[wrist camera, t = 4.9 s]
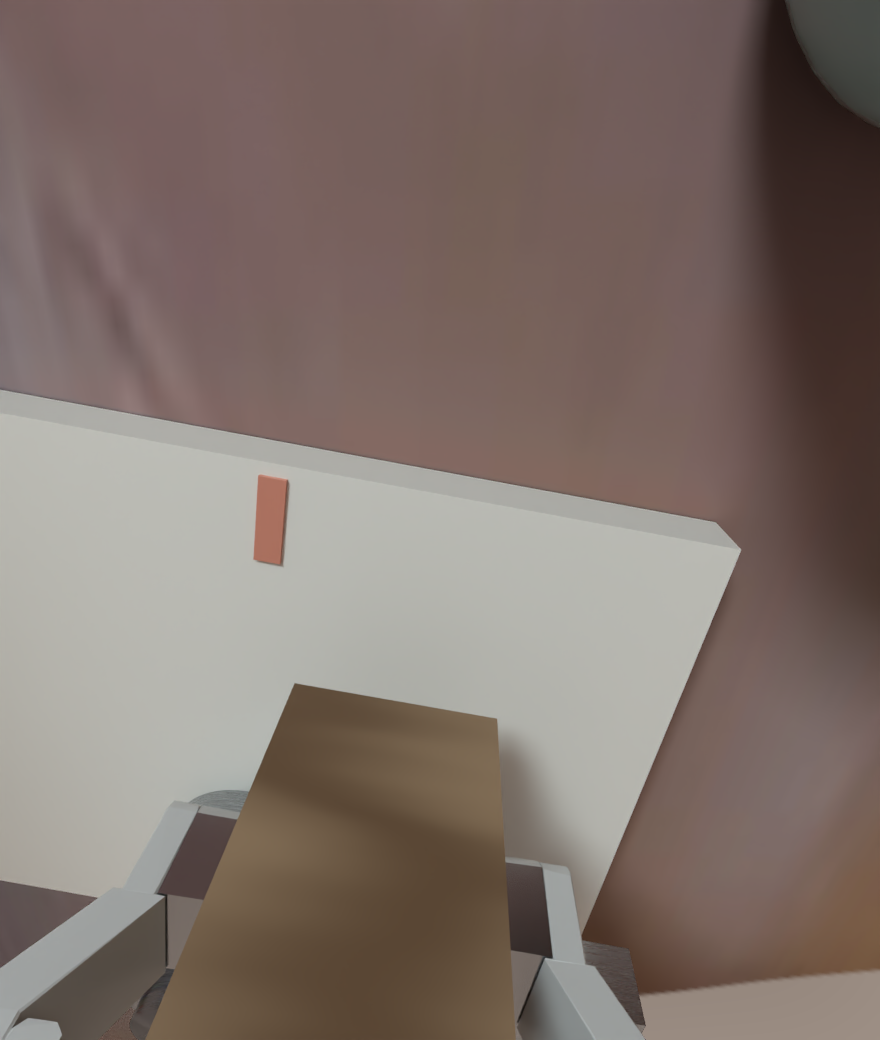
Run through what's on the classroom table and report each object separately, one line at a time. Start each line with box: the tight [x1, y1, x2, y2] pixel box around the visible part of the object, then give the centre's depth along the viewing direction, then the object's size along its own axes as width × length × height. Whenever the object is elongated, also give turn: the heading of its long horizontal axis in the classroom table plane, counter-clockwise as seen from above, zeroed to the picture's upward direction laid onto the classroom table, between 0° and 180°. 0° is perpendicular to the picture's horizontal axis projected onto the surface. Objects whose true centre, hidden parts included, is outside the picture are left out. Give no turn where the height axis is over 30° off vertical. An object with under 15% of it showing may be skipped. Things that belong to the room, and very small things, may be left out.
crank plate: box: [0, 390, 741, 935], centre depth 16 cm, size 19×15×2 cm
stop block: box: [145, 683, 516, 1040], centre depth 10 cm, size 4×4×6 cm
